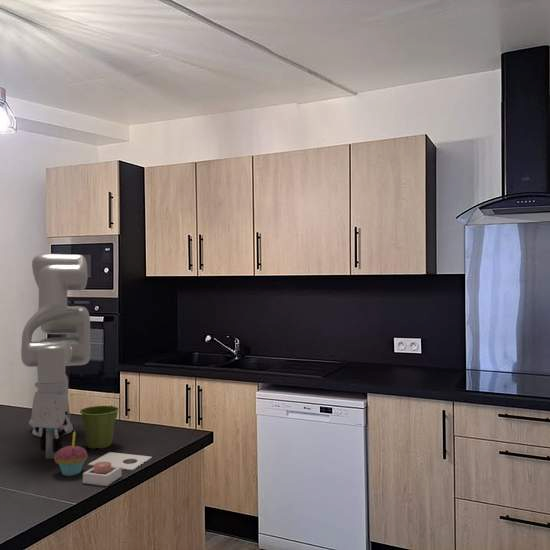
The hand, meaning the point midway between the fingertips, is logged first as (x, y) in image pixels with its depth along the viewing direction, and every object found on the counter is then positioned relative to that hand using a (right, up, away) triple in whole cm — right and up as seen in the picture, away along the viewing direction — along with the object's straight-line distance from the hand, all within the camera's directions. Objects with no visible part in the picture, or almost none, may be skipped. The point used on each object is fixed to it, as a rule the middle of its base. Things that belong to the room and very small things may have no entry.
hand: (51, 449), depth 167 cm
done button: (+20, -1, -17) cm, 26 cm away
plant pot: (+11, -2, +12) cm, 16 cm away
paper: (+21, -2, -3) cm, 21 cm away
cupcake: (+10, -3, -12) cm, 16 cm away
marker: (0, -2, 0) cm, 2 cm away
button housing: (+20, -3, -17) cm, 26 cm away
